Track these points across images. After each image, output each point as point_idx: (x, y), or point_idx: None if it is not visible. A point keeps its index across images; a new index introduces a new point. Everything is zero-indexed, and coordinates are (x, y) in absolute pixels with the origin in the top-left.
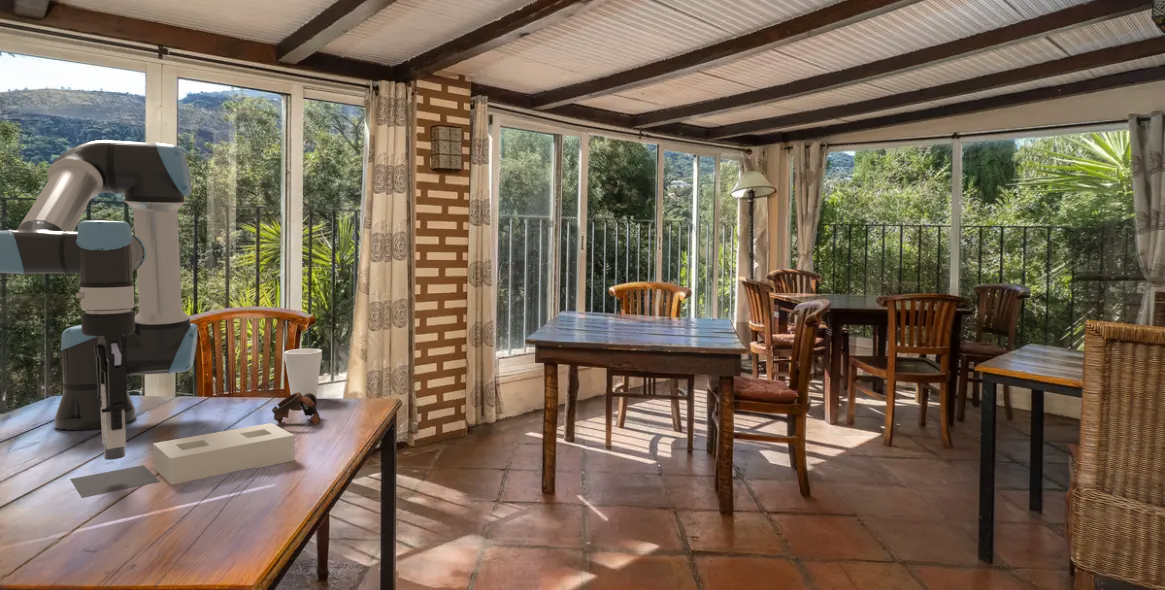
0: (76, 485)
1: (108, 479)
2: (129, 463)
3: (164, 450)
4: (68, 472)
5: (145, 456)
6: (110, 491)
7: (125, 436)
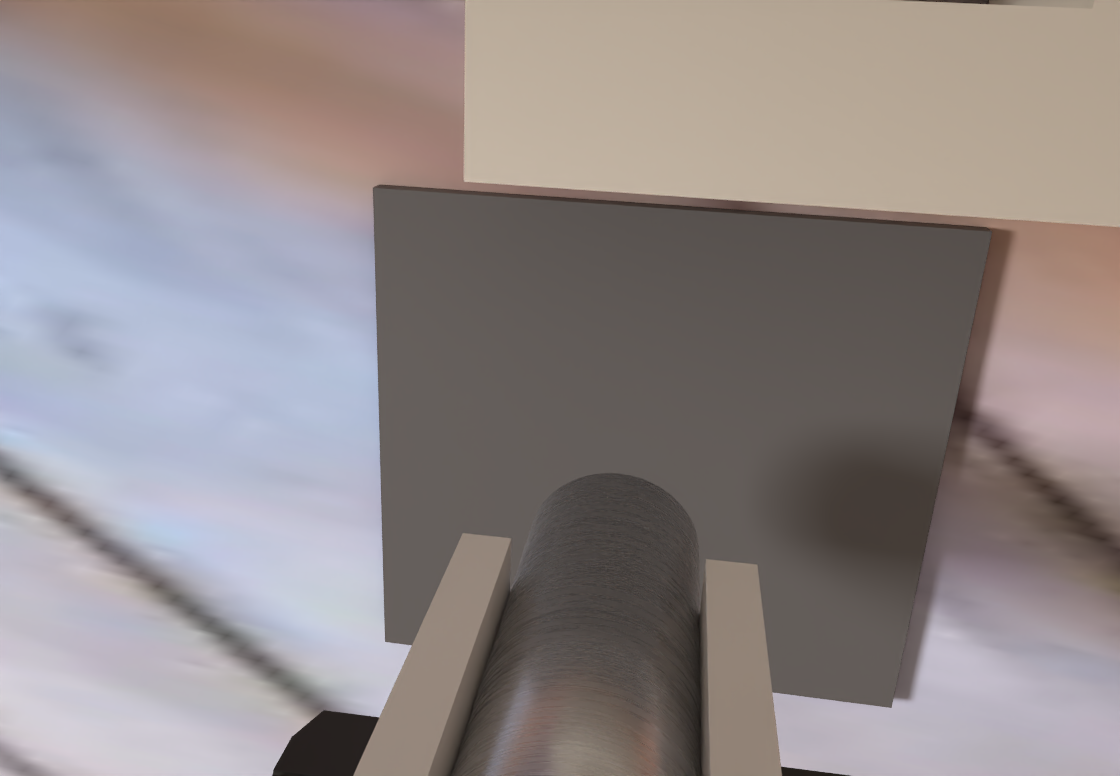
0: None
1: None
2: (187, 237)
3: (904, 182)
4: (166, 586)
5: (43, 76)
6: (917, 561)
7: (761, 634)
